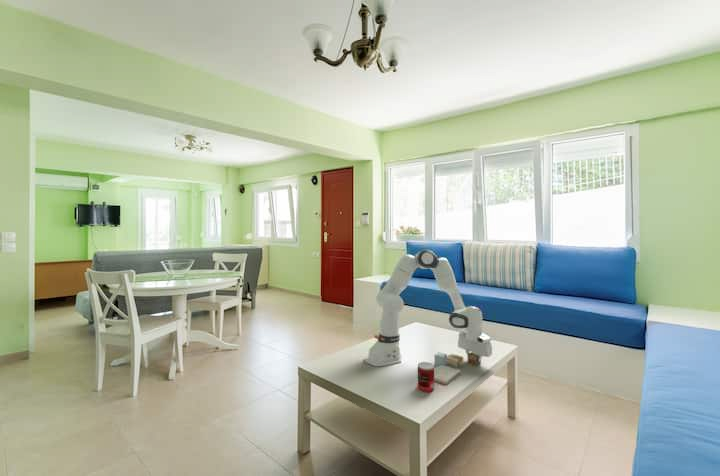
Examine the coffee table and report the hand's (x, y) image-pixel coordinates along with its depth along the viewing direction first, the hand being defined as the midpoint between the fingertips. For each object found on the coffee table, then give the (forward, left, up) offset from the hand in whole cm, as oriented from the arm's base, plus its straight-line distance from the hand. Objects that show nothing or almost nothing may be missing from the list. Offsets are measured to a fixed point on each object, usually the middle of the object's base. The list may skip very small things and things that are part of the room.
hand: (474, 359), depth 181 cm
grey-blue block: (-18, +9, -2) cm, 20 cm away
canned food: (-45, -5, -2) cm, 45 cm away
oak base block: (-10, +6, -2) cm, 12 cm away
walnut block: (0, 0, -2) cm, 2 cm away
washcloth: (-28, -1, -2) cm, 28 cm away
